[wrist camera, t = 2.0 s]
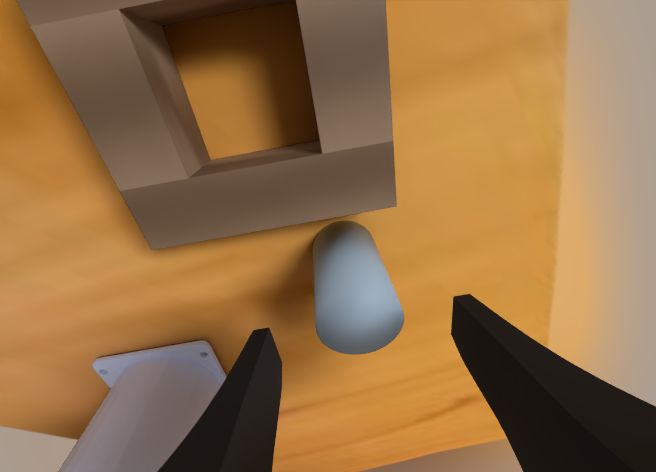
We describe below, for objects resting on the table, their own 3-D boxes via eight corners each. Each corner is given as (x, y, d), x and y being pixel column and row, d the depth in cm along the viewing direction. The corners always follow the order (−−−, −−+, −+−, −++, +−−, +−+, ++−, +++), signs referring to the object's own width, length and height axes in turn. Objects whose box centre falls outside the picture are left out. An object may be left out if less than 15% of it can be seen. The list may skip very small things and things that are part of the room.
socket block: (381, 184, 15) (396, 206, 13) (178, 221, 15) (151, 250, 13) (357, -118, 10) (375, -190, 7) (50, -56, 10) (-41, -104, 8)
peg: (376, 267, 18) (405, 346, 12) (318, 277, 18) (324, 360, 13) (370, 215, 16) (402, 281, 11) (307, 226, 16) (307, 297, 11)
